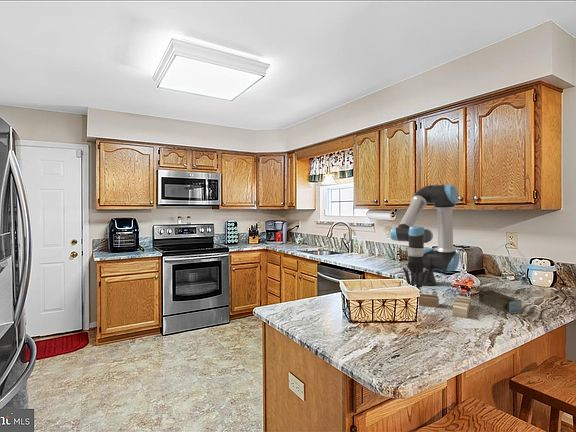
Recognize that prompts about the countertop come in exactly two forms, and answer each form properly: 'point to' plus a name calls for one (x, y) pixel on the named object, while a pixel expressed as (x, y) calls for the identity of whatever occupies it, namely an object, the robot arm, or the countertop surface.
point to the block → (428, 300)
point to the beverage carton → (500, 301)
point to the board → (461, 306)
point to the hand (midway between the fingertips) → (414, 299)
